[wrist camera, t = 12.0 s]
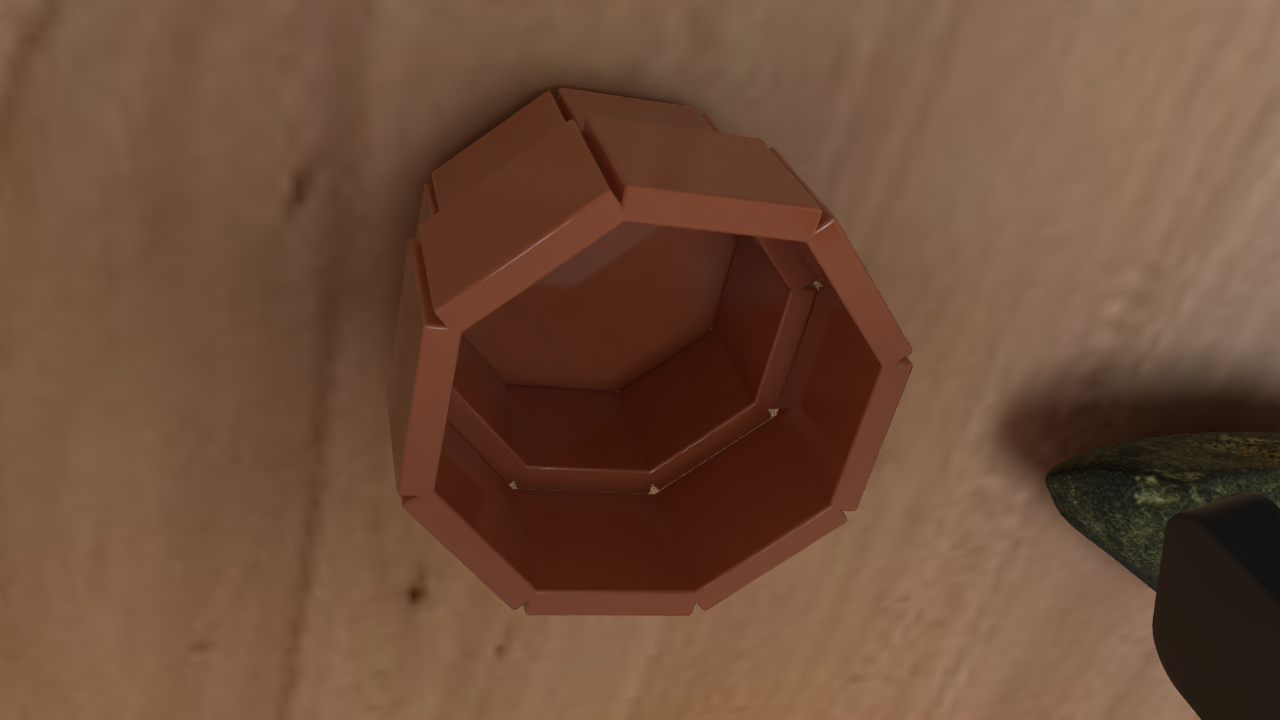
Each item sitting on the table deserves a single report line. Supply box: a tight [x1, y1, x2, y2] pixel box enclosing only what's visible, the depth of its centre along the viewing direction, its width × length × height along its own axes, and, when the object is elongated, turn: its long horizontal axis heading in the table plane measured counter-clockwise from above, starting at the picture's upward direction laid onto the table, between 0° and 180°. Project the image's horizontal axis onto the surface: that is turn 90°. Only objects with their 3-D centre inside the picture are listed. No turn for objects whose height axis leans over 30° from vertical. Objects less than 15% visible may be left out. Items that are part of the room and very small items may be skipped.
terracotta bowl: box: [387, 88, 913, 616], centre depth 17 cm, size 6×6×5 cm
